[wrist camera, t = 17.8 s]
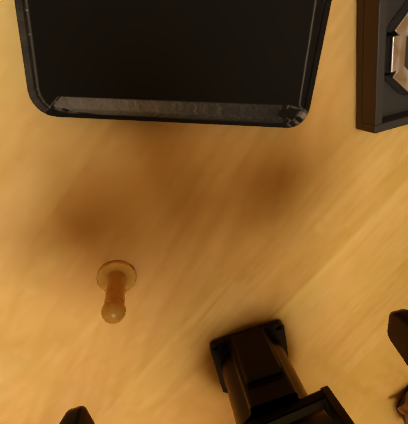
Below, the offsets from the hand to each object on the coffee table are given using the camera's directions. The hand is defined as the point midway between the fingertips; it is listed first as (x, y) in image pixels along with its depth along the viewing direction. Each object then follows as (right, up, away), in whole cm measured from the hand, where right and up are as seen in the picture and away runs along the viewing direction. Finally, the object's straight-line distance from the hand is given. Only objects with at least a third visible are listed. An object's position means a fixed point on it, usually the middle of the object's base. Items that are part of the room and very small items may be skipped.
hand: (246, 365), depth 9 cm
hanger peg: (-7, 0, +13) cm, 15 cm away
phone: (-2, +13, +8) cm, 16 cm away
